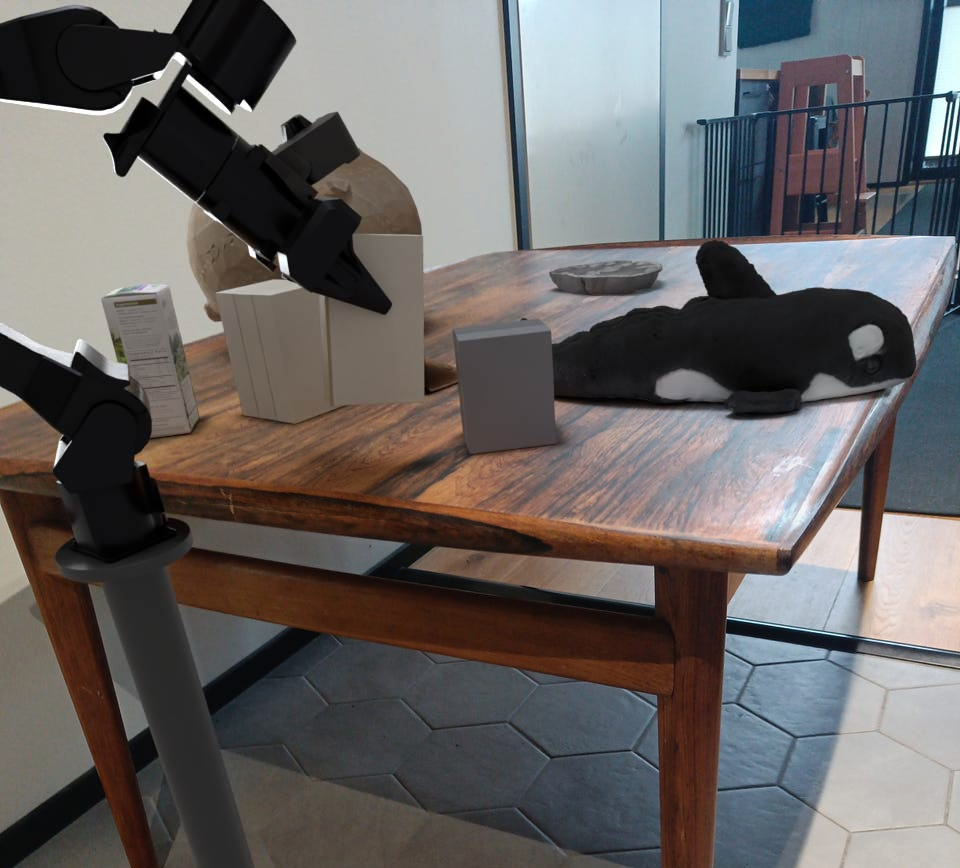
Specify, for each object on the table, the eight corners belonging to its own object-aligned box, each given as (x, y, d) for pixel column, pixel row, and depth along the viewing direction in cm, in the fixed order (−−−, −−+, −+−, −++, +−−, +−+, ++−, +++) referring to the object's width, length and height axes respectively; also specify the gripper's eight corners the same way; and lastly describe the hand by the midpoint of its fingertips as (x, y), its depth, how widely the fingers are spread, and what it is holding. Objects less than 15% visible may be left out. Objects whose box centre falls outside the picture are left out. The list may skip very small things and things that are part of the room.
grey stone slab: (686, 280, 151) (686, 261, 150) (631, 298, 140) (631, 278, 139) (591, 277, 163) (591, 259, 161) (534, 293, 152) (533, 275, 151)
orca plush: (893, 429, 76) (920, 246, 69) (480, 403, 95) (467, 258, 87) (921, 367, 92) (946, 213, 85) (562, 355, 110) (557, 229, 103)
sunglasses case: (474, 372, 105) (450, 328, 100) (443, 416, 103) (417, 373, 98) (367, 361, 115) (341, 320, 110) (338, 401, 113) (310, 361, 108)
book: (330, 406, 73) (321, 232, 68) (324, 400, 76) (315, 232, 70) (424, 402, 75) (423, 234, 70) (415, 396, 78) (414, 234, 73)
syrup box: (149, 425, 99) (111, 287, 92) (202, 419, 99) (168, 281, 92) (138, 440, 94) (96, 296, 87) (194, 433, 94) (157, 289, 87)
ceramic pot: (219, 377, 117) (169, 163, 104) (203, 336, 145) (163, 163, 132) (459, 339, 125) (440, 136, 112) (400, 307, 153) (380, 141, 140)
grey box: (469, 454, 80) (458, 340, 75) (462, 435, 85) (452, 328, 80) (556, 444, 81) (551, 330, 76) (544, 425, 86) (539, 318, 81)
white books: (295, 424, 94) (269, 295, 88) (242, 415, 99) (215, 292, 93) (348, 404, 99) (328, 280, 93) (296, 396, 104) (273, 279, 98)
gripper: (306, 57, 55) (483, 229, 64) (257, 81, 71) (406, 217, 79) (208, 210, 57) (394, 358, 66) (181, 201, 72) (334, 322, 81)
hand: (382, 307), depth 73 cm, fingers closed on book, 3 cm apart
